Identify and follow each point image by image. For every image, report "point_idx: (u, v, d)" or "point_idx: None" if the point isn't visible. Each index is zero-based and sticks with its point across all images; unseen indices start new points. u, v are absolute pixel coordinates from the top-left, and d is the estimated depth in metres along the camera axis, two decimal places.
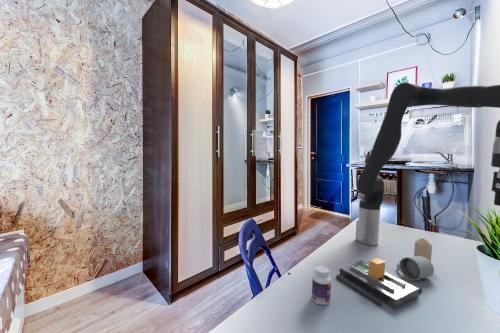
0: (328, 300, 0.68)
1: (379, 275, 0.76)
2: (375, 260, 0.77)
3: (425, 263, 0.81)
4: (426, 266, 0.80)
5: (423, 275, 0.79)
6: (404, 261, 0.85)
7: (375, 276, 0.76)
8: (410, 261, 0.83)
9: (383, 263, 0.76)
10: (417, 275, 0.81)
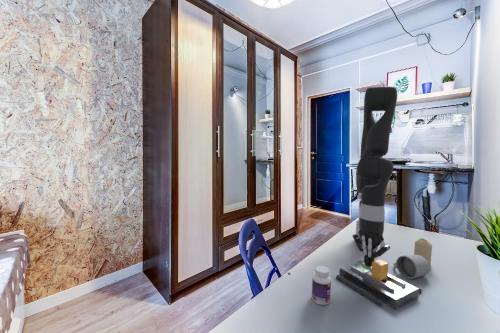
0: (328, 300, 0.68)
1: (382, 277, 0.75)
2: (378, 261, 0.76)
3: (421, 261, 0.82)
4: (422, 264, 0.81)
5: (419, 273, 0.80)
6: (401, 259, 0.86)
7: (378, 278, 0.75)
8: (406, 259, 0.84)
9: (386, 264, 0.75)
10: (413, 273, 0.82)
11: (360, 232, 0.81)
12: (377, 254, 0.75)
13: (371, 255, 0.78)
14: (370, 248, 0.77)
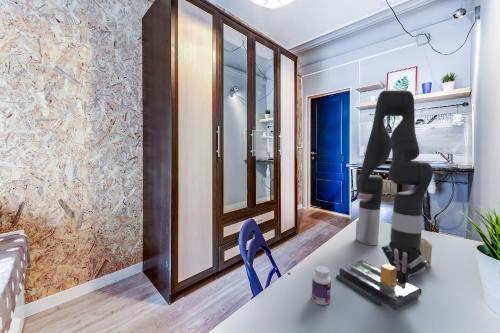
0: (328, 300, 0.68)
1: (391, 282, 0.72)
2: (387, 266, 0.74)
3: (417, 259, 0.83)
4: None
5: None
6: None
7: (387, 283, 0.72)
8: None
9: None
10: None
11: (392, 244, 0.72)
12: (414, 270, 0.66)
13: (406, 271, 0.68)
14: (405, 263, 0.68)
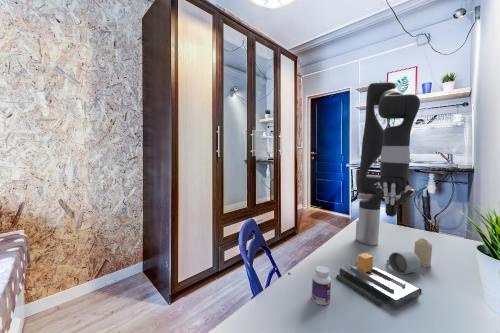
0: (328, 300, 0.68)
1: (367, 269, 0.80)
2: (363, 255, 0.81)
3: (413, 258, 0.84)
4: (414, 260, 0.84)
5: (410, 269, 0.83)
6: (393, 256, 0.89)
7: (363, 270, 0.79)
8: (399, 256, 0.87)
9: (371, 257, 0.80)
10: (405, 269, 0.84)
11: (381, 180, 0.74)
12: (402, 200, 0.68)
13: (394, 202, 0.70)
14: (393, 194, 0.70)
